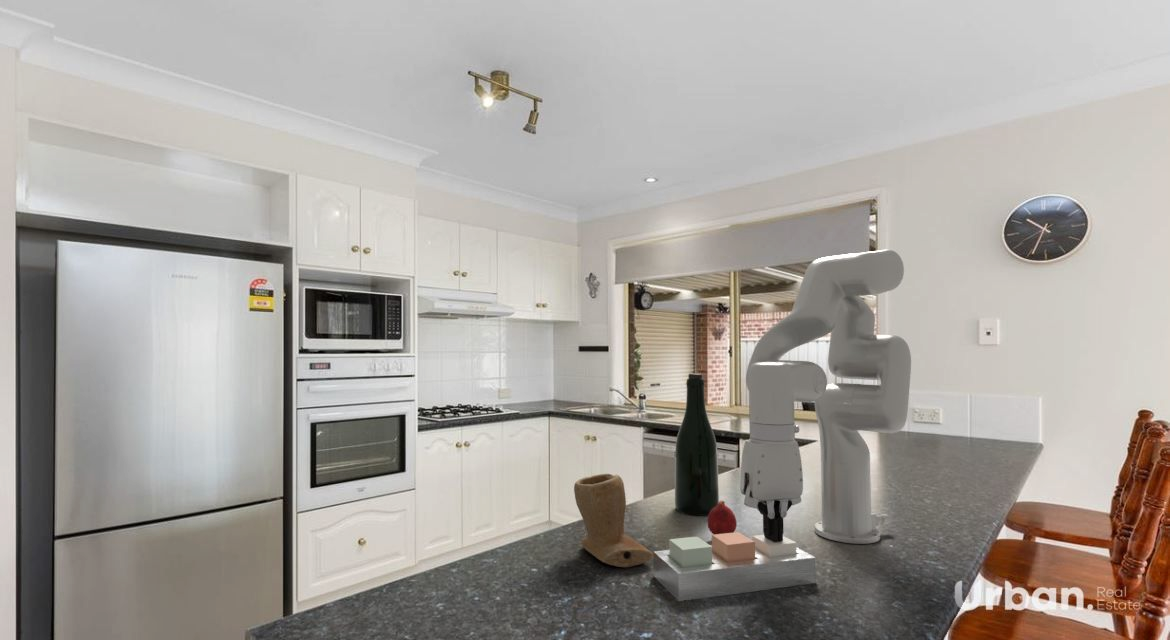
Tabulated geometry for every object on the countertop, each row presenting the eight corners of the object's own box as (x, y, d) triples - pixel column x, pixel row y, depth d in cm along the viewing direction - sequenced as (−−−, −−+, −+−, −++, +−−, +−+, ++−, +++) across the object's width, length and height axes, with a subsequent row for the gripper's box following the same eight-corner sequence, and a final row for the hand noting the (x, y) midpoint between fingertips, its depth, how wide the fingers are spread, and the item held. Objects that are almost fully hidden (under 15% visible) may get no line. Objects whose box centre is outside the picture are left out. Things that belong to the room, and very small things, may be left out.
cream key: (778, 550, 101) (778, 533, 102) (796, 560, 96) (796, 542, 97) (752, 553, 100) (752, 535, 100) (770, 563, 95) (769, 545, 95)
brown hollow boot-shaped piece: (566, 547, 112) (566, 470, 112) (621, 540, 116) (621, 466, 116) (593, 576, 97) (593, 488, 98) (655, 567, 102) (654, 482, 102)
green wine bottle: (686, 501, 144) (685, 372, 146) (725, 508, 138) (723, 373, 140) (667, 511, 136) (666, 373, 137) (708, 519, 130) (706, 374, 131)
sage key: (697, 554, 97) (697, 536, 97) (712, 565, 92) (711, 546, 92) (669, 557, 96) (669, 539, 96) (682, 568, 91) (682, 549, 91)
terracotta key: (738, 549, 99) (738, 532, 99) (755, 560, 94) (755, 541, 94) (711, 552, 98) (711, 534, 98) (727, 563, 93) (727, 544, 93)
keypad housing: (779, 561, 104) (779, 538, 104) (815, 582, 94) (815, 557, 95) (653, 576, 97) (653, 551, 97) (678, 601, 88) (678, 573, 88)
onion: (737, 546, 112) (737, 505, 112) (707, 544, 113) (707, 503, 113) (735, 536, 118) (735, 497, 118) (707, 534, 119) (707, 496, 119)
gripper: (795, 428, 105) (796, 529, 104) (722, 431, 101) (723, 536, 100) (822, 434, 98) (824, 542, 97) (745, 437, 94) (747, 551, 93)
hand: (773, 539), depth 98 cm, fingers closed
